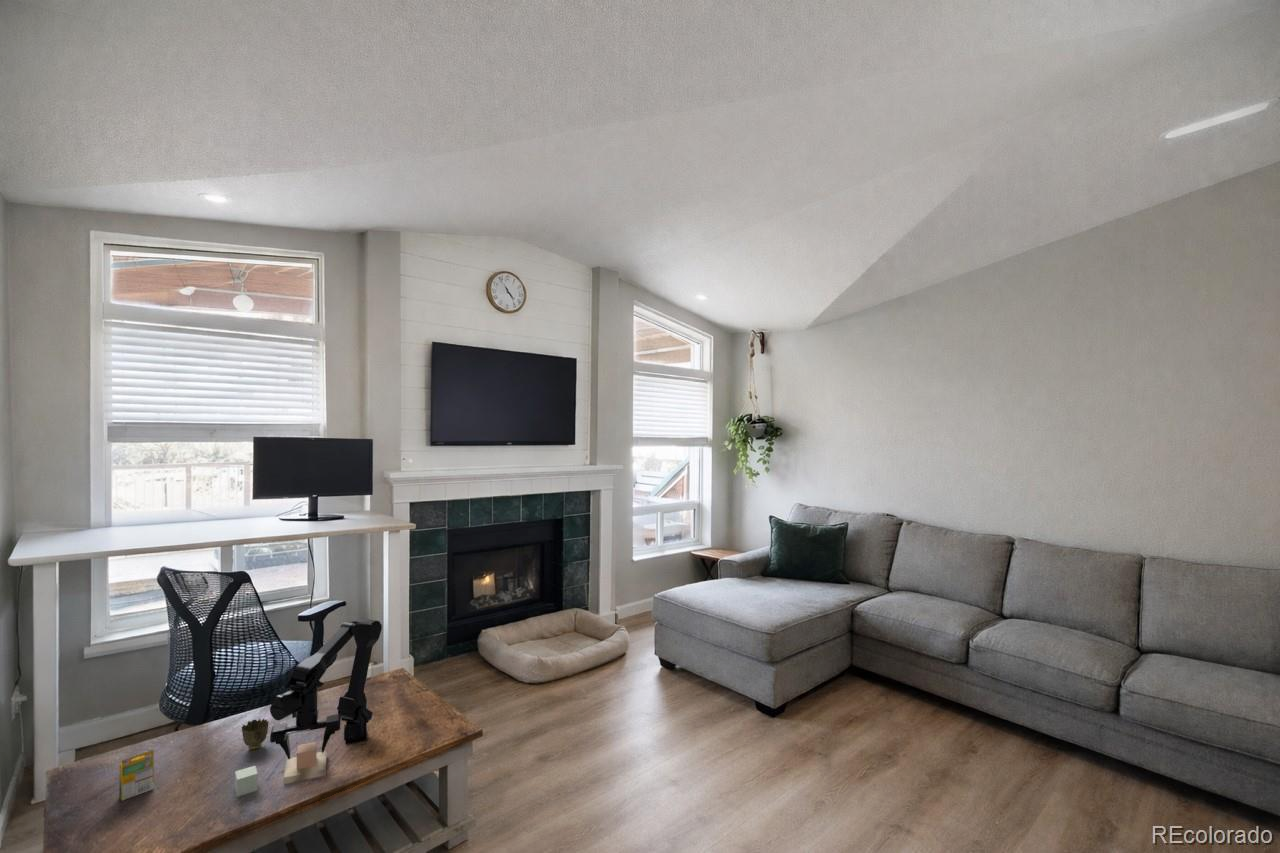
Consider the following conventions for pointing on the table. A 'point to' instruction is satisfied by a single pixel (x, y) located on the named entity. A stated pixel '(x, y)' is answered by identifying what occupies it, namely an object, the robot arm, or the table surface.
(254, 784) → the sage cube
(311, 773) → the plinth
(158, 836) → the table surface
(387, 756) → the table surface
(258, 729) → the cup
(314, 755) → the terracotta cube
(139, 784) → the crayon box
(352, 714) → the robot arm
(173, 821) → the table surface
